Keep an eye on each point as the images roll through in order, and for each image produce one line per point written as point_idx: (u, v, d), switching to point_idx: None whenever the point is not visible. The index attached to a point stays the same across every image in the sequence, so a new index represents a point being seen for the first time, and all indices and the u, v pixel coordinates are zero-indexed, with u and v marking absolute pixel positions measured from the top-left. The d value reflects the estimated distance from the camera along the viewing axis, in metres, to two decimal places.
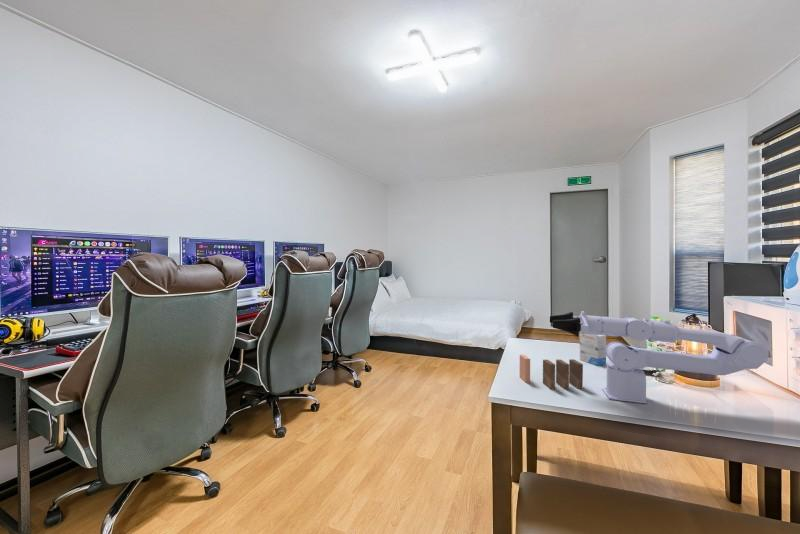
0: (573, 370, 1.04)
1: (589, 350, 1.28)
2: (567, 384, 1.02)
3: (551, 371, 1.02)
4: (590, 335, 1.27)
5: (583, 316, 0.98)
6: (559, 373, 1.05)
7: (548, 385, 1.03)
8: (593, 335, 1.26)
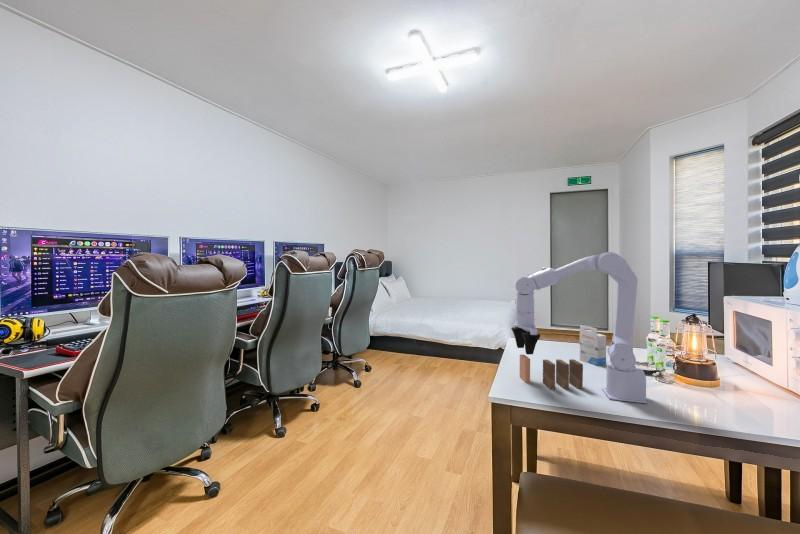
0: (573, 370, 1.04)
1: (589, 350, 1.28)
2: (567, 384, 1.02)
3: (551, 371, 1.02)
4: (590, 335, 1.27)
5: (519, 326, 1.08)
6: (559, 373, 1.05)
7: (548, 385, 1.03)
8: (593, 335, 1.26)
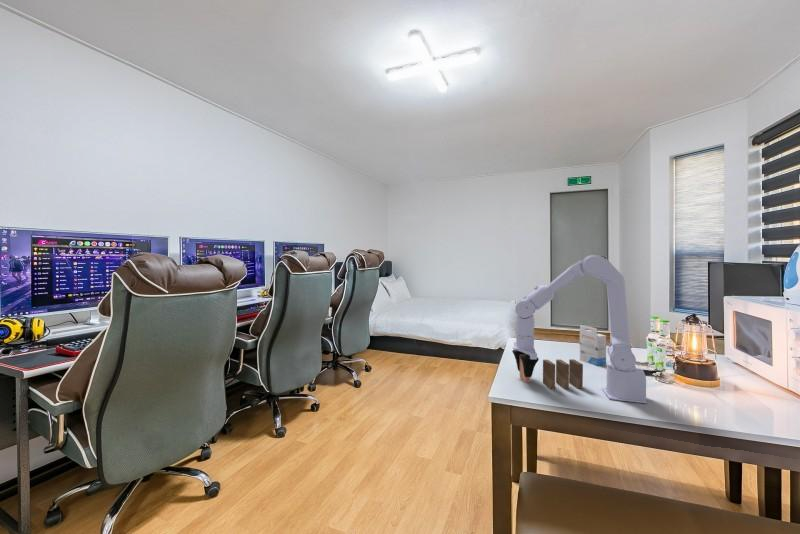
0: (573, 370, 1.04)
1: (589, 350, 1.28)
2: (567, 384, 1.02)
3: (551, 371, 1.02)
4: (590, 335, 1.27)
5: (518, 349, 1.08)
6: (559, 373, 1.05)
7: (548, 385, 1.03)
8: (593, 335, 1.26)
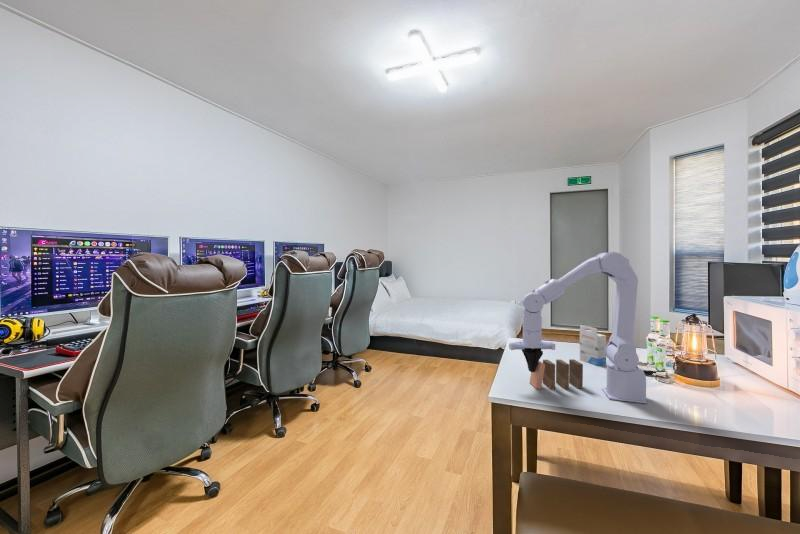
0: (573, 370, 1.04)
1: (589, 350, 1.28)
2: (567, 384, 1.02)
3: (551, 371, 1.02)
4: (590, 335, 1.27)
5: None
6: (559, 373, 1.05)
7: (548, 385, 1.03)
8: (593, 335, 1.26)
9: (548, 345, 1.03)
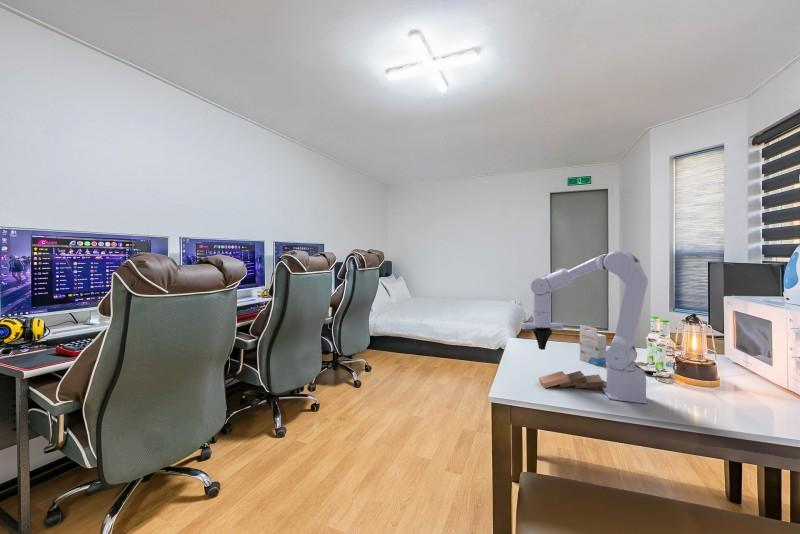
0: None
1: (589, 350, 1.28)
2: (580, 386, 1.02)
3: (578, 379, 1.02)
4: (590, 335, 1.27)
5: None
6: (586, 378, 1.04)
7: None
8: (593, 335, 1.26)
9: (557, 325, 1.13)
